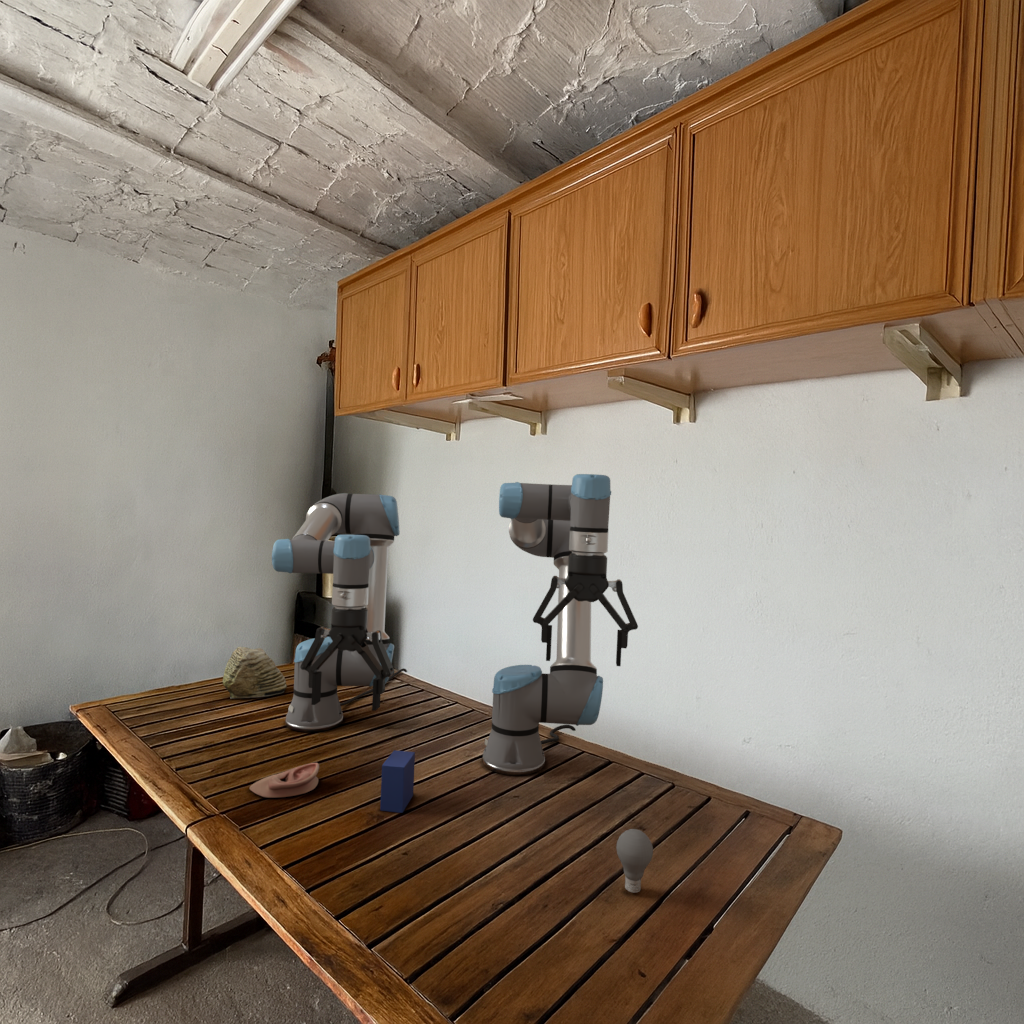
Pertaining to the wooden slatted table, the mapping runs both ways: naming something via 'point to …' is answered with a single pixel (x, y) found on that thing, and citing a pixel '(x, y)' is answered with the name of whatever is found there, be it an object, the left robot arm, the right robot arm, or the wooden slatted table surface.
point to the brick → (397, 781)
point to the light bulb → (634, 857)
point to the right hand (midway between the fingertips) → (583, 662)
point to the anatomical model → (288, 782)
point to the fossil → (252, 674)
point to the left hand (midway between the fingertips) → (345, 706)
